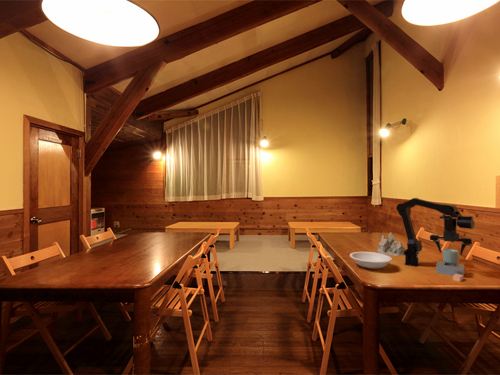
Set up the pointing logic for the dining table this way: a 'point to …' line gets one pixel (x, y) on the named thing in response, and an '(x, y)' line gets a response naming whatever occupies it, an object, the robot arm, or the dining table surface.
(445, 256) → the cup
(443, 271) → the box
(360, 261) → the soup bowl
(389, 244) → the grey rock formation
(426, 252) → the dining table surface
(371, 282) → the dining table surface
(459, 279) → the pink rectangular block
